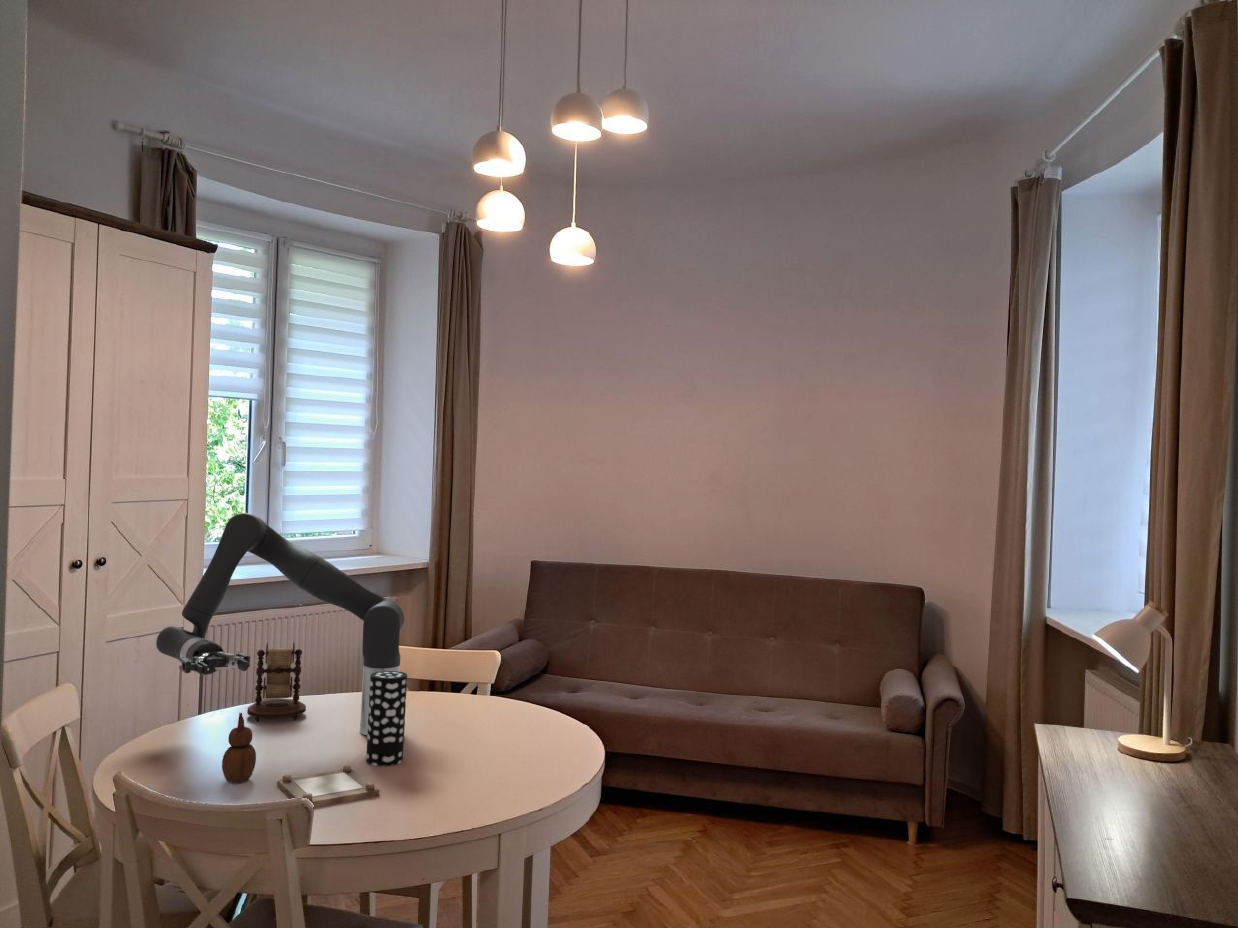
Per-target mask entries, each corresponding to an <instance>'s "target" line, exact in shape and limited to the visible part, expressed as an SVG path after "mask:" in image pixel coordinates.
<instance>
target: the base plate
mask: <svg viewBox="0 0 1238 928" xmlns="http://www.w3.org/2000/svg"><path fill="white" fill-rule="evenodd" d="M375 785H376V784H375V783H374V782H370V781H369V780H367V779H366V778H365V777H363V776H362V775H361V774H359V773H358V772H357V771H355V770H354V768H352V765H349V764H348V765H346V764H345V765H343V767H342V769H337V770H333V771H326V772H325V771H324V772H319V773H313V774H307V775H300V776H295V777H292V775H291V774H284V775H282V777H281V779H277V780H276V786H277V787H278V788H279V789H280V790H281V791H282V792H283V794H285V795H286V796H287V797H288V798H289V799H290V798H298V797H301V798H307V799H309V800H310V801H311V802H312V803H313V805H314V808H318V807H323V806H324V807H325V806H329V805H335V804H340V803H346V802H351V801H357V800H361V799H368V797H369V798H373V797H372V796H374V797H379V796H380V791H381V789H379V788H378V787H377V786H375Z"/></svg>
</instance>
